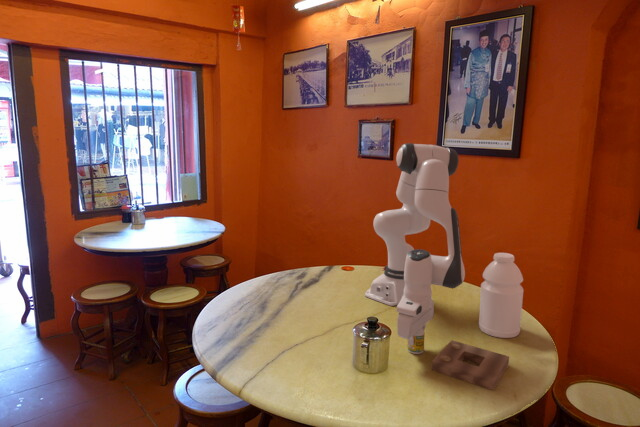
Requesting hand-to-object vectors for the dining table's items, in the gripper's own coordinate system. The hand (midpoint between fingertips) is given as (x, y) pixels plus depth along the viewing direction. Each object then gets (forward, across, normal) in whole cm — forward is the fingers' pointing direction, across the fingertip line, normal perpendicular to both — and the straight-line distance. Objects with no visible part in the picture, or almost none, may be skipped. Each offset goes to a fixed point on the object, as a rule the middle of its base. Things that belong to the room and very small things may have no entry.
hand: (416, 340), depth 143 cm
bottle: (+4, -31, +18) cm, 36 cm away
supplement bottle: (+4, 0, 0) cm, 4 cm away
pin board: (+4, 0, +18) cm, 18 cm away
